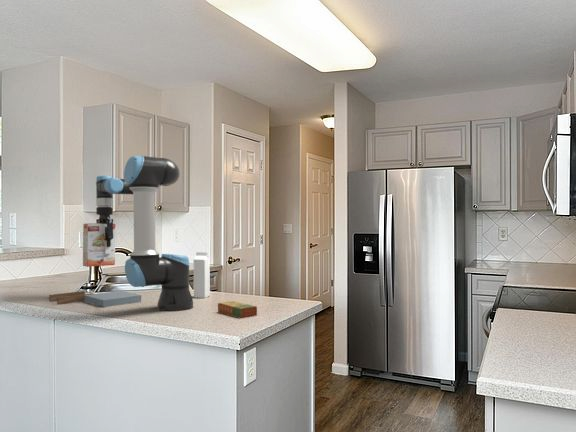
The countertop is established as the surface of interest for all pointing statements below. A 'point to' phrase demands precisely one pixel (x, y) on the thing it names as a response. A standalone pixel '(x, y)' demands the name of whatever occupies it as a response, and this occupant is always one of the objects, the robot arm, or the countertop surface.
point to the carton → (237, 309)
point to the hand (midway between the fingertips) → (104, 253)
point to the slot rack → (68, 297)
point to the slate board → (112, 298)
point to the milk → (201, 275)
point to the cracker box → (97, 245)
